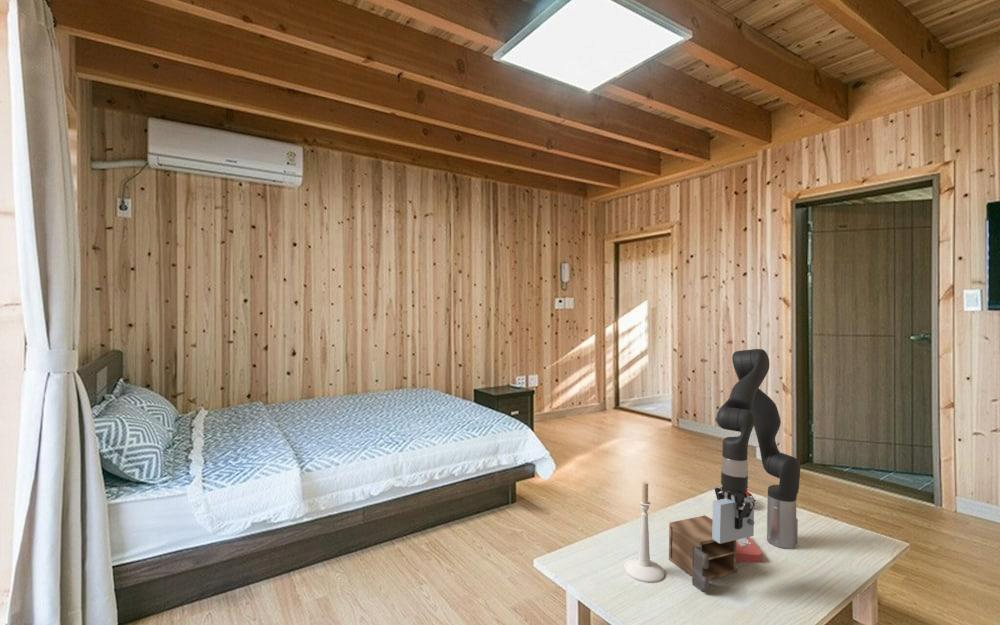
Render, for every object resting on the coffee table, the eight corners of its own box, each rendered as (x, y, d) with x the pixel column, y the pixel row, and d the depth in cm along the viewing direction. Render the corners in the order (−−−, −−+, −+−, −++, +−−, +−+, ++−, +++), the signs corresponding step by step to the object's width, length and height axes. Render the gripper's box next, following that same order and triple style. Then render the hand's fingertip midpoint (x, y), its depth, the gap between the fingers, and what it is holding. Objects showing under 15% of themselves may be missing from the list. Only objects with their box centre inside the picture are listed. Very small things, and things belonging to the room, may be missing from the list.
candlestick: (672, 580, 149) (673, 487, 149) (634, 584, 147) (635, 490, 146) (652, 559, 162) (653, 473, 161) (617, 562, 160) (618, 475, 159)
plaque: (702, 526, 179) (743, 528, 177) (702, 536, 179) (743, 538, 177) (718, 550, 161) (764, 553, 160) (718, 561, 161) (764, 564, 160)
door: (712, 539, 145) (712, 500, 145) (745, 531, 150) (746, 494, 150) (723, 545, 142) (723, 506, 141) (756, 537, 147) (757, 499, 146)
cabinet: (704, 551, 167) (705, 515, 167) (752, 582, 149) (753, 541, 148) (660, 562, 160) (660, 524, 160) (704, 595, 141) (705, 553, 141)
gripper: (707, 465, 151) (706, 518, 152) (744, 481, 138) (743, 538, 139) (725, 463, 154) (724, 514, 154) (763, 478, 141) (761, 534, 141)
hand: (733, 525), depth 146 cm, fingers closed on door, 3 cm apart
